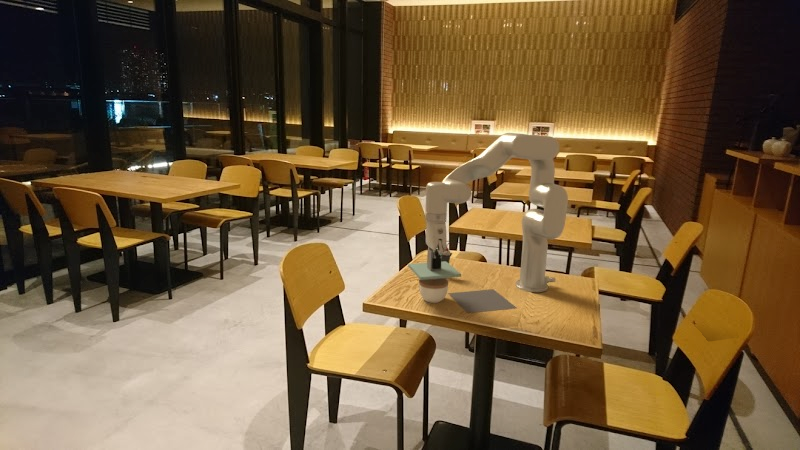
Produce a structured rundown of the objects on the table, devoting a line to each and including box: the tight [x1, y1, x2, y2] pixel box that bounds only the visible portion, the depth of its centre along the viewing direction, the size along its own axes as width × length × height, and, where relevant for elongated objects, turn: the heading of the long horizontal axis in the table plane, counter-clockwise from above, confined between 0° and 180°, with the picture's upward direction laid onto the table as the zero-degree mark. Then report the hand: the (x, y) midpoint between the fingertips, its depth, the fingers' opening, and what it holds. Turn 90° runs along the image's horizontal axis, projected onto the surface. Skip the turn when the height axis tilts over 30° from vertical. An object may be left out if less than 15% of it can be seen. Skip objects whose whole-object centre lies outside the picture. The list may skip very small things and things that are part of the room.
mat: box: [447, 288, 518, 314], centre depth 175 cm, size 19×19×1 cm
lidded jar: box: [418, 278, 449, 304], centre depth 174 cm, size 11×11×9 cm
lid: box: [407, 248, 462, 280], centre depth 171 cm, size 15×15×8 cm
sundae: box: [441, 242, 453, 264], centre depth 199 cm, size 7×7×15 cm
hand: (434, 266), depth 172 cm, fingers closed on lid, 4 cm apart
